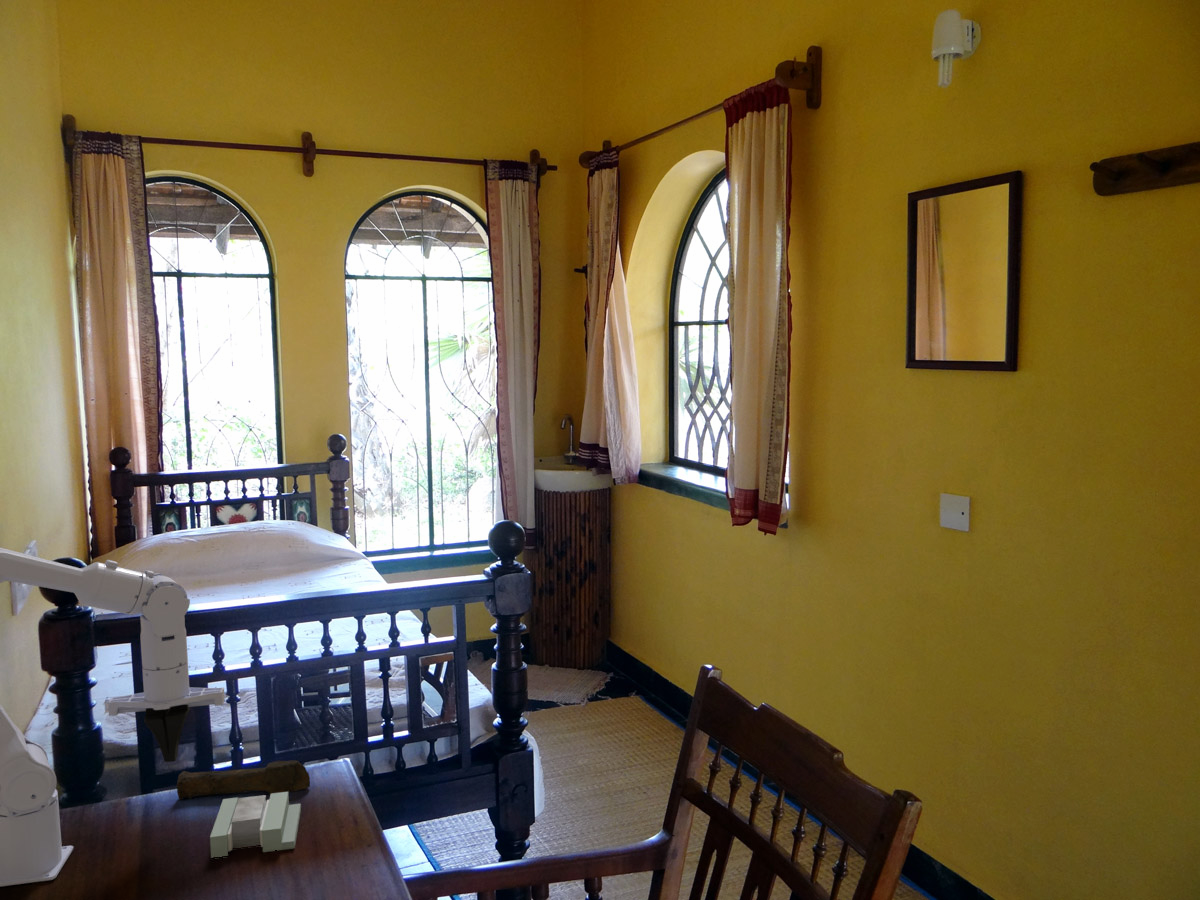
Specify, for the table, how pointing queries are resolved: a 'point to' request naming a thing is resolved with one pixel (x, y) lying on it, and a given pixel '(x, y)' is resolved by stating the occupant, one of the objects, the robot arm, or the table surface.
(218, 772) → the brown wooden log
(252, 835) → the block
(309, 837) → the table surface
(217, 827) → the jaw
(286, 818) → the pale green bar
